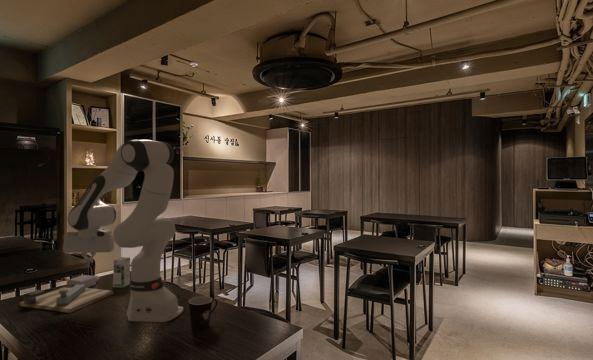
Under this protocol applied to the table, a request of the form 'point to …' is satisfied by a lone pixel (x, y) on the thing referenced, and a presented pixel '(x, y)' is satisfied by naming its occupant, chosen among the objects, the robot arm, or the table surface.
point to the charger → (83, 280)
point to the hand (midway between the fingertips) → (88, 262)
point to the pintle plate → (73, 304)
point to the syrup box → (121, 272)
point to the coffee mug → (200, 312)
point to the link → (71, 294)
